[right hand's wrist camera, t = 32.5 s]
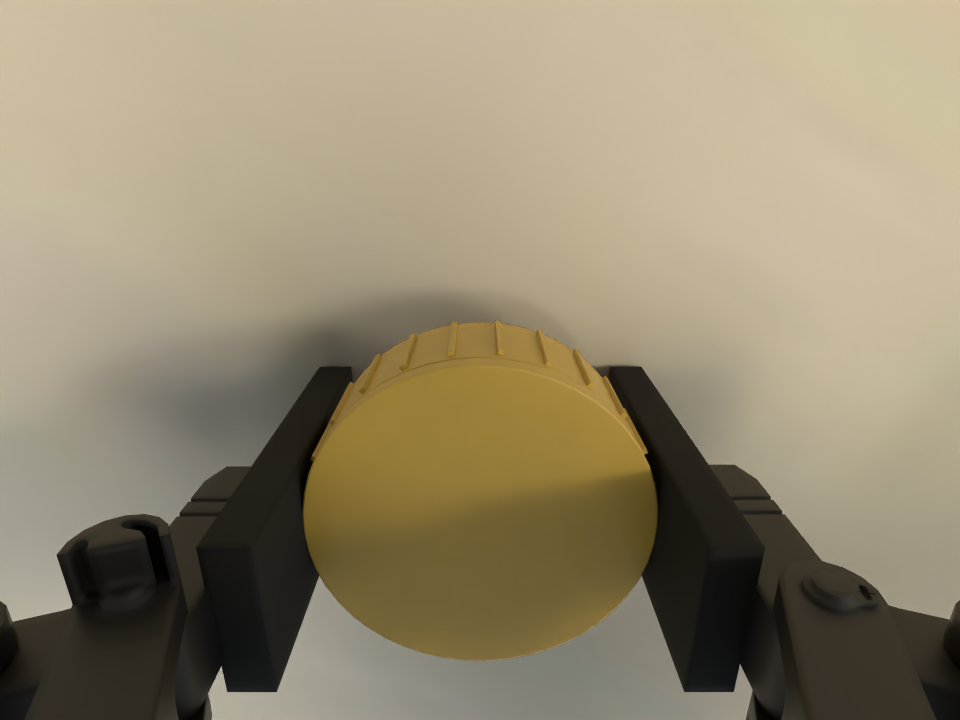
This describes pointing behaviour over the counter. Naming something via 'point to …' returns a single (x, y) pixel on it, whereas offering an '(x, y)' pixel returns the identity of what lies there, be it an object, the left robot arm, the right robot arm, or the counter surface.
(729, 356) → the counter surface
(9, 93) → the counter surface
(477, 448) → the lid
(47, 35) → the counter surface
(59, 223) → the counter surface
